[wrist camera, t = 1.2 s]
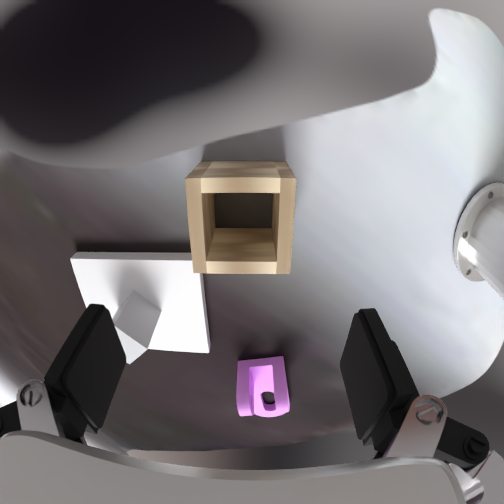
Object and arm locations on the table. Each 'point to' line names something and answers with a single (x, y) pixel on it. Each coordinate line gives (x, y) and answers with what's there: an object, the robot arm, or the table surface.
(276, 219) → the wooden collar
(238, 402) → the bracket
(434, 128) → the table surface
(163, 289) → the plate
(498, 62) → the table surface
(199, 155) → the table surface
